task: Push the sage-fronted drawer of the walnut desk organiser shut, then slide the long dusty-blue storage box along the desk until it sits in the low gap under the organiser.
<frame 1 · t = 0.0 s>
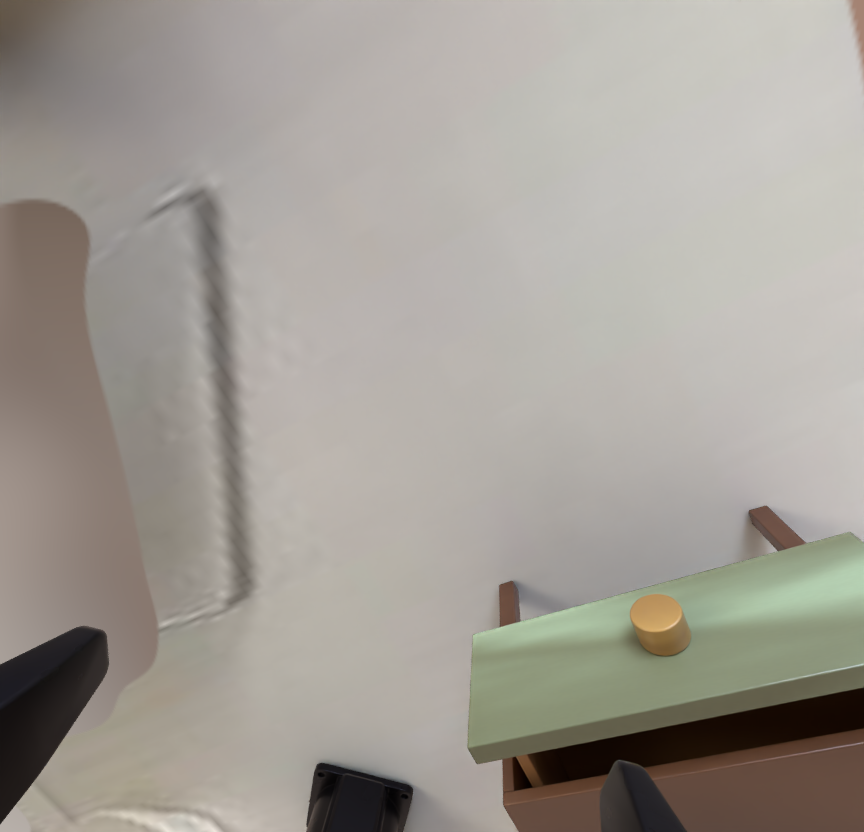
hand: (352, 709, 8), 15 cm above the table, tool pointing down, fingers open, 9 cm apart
drawer: (703, 735, 16), point 8 cm above the table, slide at 2.0 cm
drawer unit: (654, 624, 24), on the table
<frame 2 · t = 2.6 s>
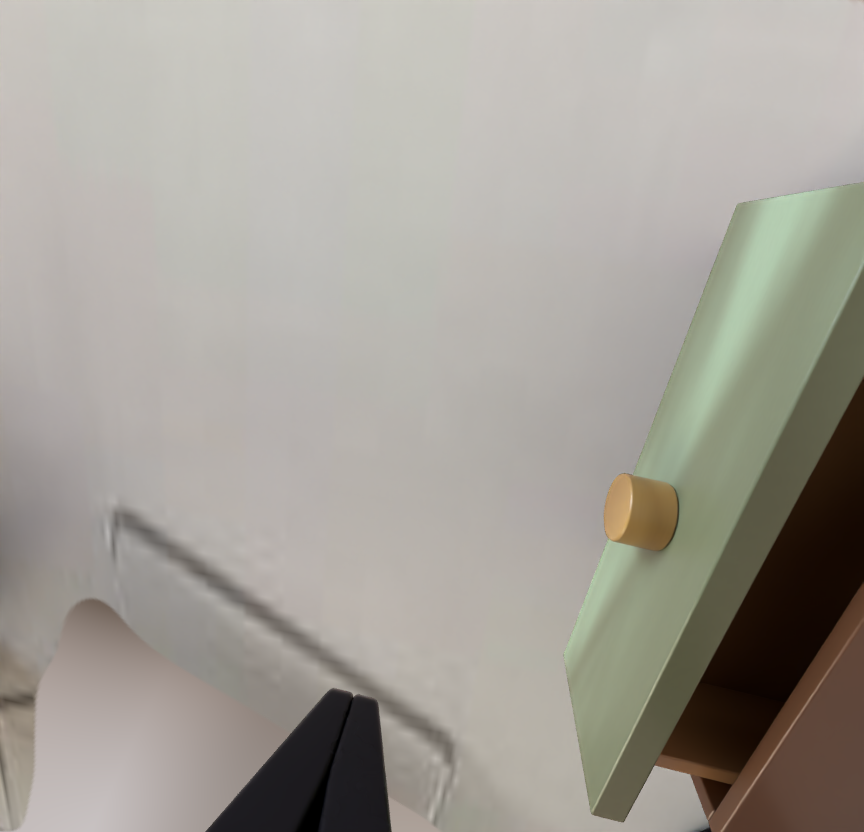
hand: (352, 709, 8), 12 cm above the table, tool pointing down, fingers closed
drawer unit: (795, 444, 18), on the table
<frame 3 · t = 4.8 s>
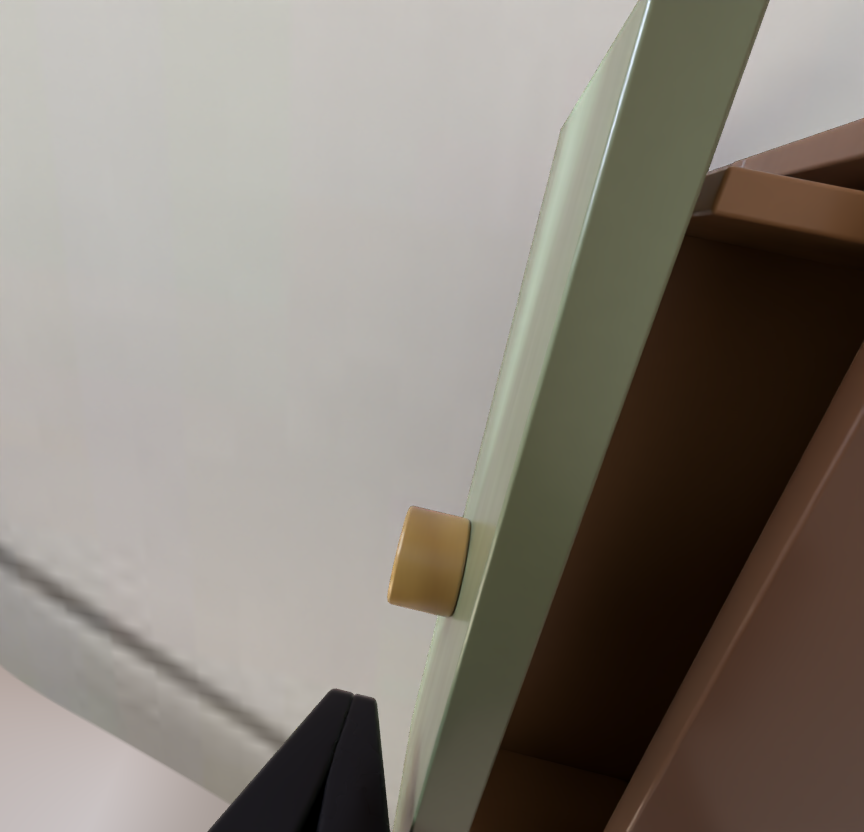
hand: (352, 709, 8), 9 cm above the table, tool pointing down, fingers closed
drawer: (745, 634, 7), point 8 cm above the table, slide at 1.8 cm, touching gripper
drawer unit: (714, 454, 15), on the table
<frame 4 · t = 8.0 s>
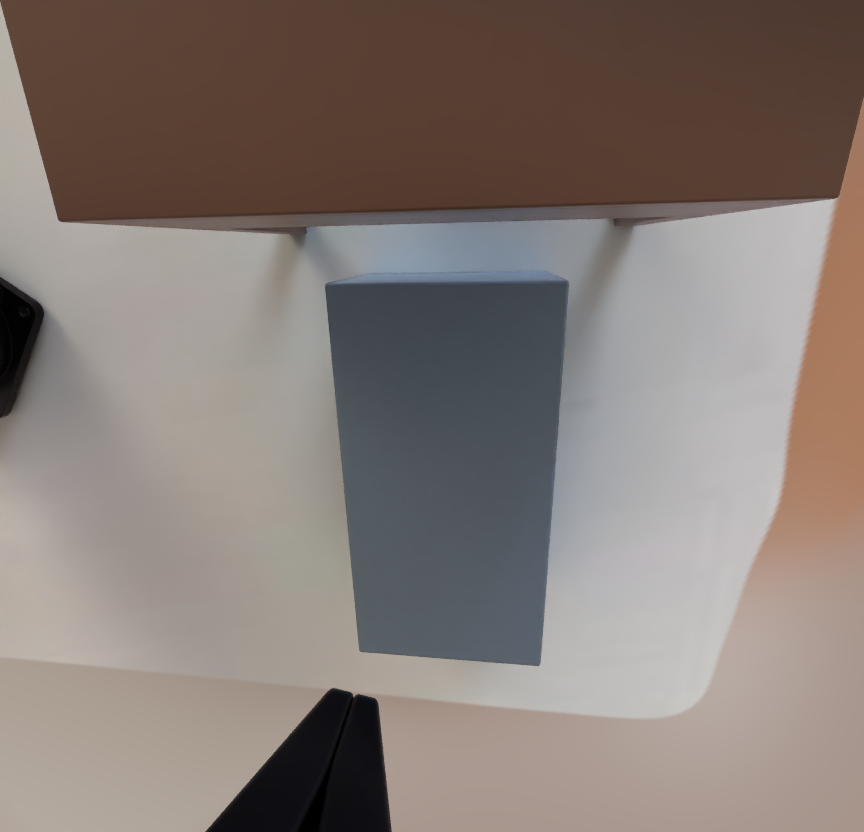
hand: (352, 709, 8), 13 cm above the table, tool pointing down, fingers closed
storage box: (455, 441, 20), on the table
drawer unit: (454, 70, 16), on the table
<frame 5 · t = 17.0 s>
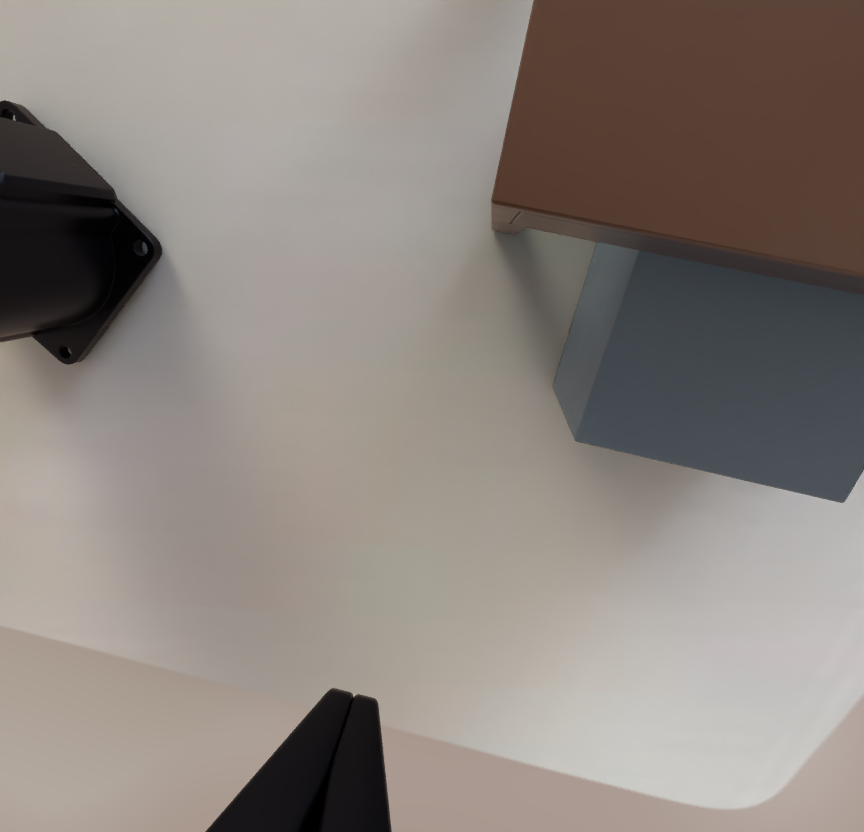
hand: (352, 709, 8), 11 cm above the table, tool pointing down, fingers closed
storage box: (731, 198, 14), on the table
drawer unit: (757, 88, 13), on the table
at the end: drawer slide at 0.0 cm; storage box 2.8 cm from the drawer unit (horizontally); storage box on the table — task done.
